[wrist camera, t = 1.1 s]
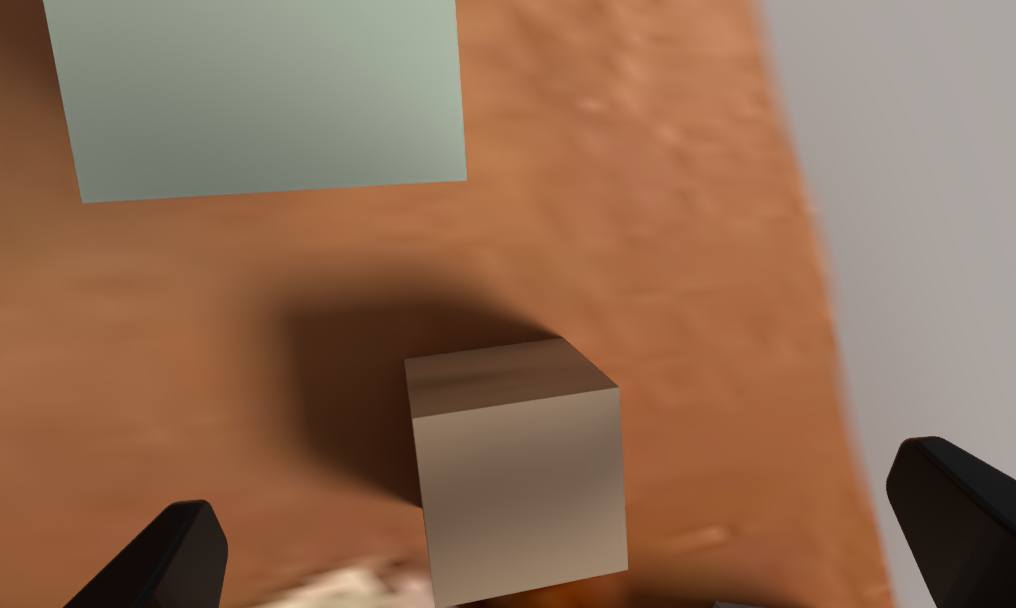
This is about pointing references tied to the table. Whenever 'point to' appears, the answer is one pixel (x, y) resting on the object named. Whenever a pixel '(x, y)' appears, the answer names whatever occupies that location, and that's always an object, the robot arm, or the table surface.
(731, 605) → the dice cube
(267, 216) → the table surface
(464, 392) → the metal cube
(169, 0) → the tower top
